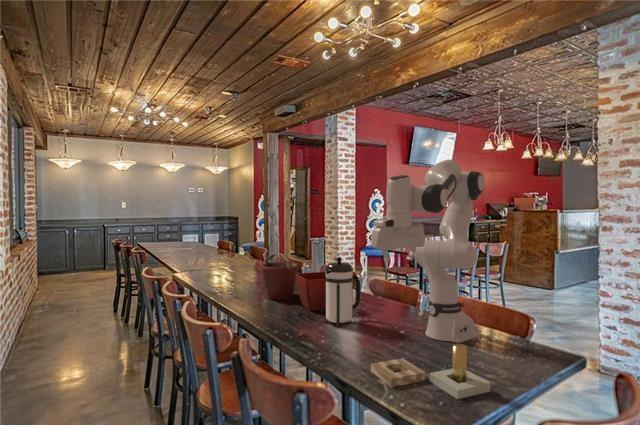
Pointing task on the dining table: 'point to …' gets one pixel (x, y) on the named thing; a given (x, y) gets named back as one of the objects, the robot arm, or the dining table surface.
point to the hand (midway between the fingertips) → (398, 260)
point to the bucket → (278, 278)
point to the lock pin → (459, 363)
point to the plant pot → (312, 289)
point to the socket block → (460, 384)
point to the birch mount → (400, 378)
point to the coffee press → (340, 292)
